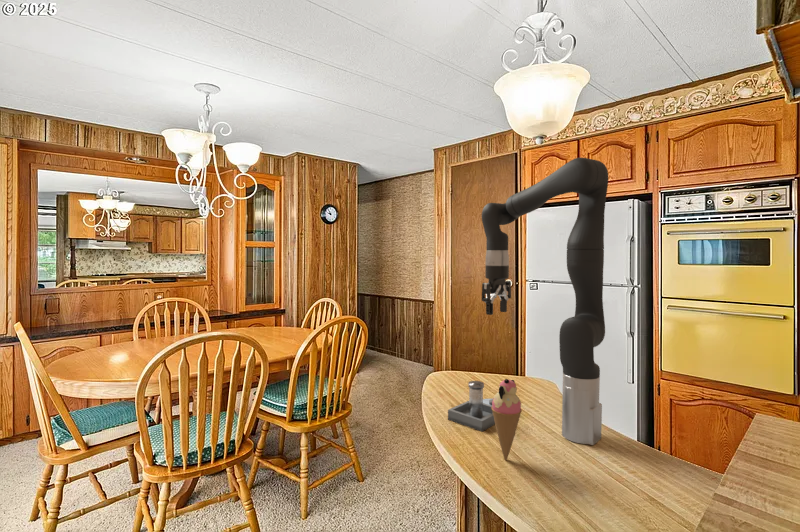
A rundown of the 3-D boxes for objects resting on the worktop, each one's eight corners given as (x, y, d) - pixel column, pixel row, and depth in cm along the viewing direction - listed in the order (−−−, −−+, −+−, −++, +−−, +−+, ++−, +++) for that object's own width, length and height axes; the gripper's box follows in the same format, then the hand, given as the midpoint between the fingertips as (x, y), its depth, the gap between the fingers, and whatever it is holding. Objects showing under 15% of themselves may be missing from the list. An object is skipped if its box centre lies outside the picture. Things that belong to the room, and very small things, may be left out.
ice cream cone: (513, 470, 97) (514, 385, 97) (485, 461, 102) (485, 379, 101) (527, 457, 104) (528, 377, 103) (500, 448, 108) (500, 371, 107)
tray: (504, 419, 127) (504, 409, 127) (481, 431, 118) (481, 421, 118) (471, 408, 135) (471, 399, 135) (447, 419, 127) (447, 409, 127)
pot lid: (514, 408, 135) (515, 391, 135) (498, 417, 128) (498, 399, 128) (488, 400, 142) (488, 384, 142) (471, 408, 135) (471, 391, 135)
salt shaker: (486, 415, 127) (486, 383, 126) (478, 420, 124) (478, 386, 123) (474, 411, 130) (474, 379, 130) (465, 416, 127) (465, 383, 126)
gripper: (495, 265, 131) (494, 317, 131) (518, 264, 141) (517, 312, 142) (475, 264, 136) (474, 314, 137) (498, 263, 146) (498, 309, 147)
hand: (496, 313), depth 139 cm, fingers open, 8 cm apart
